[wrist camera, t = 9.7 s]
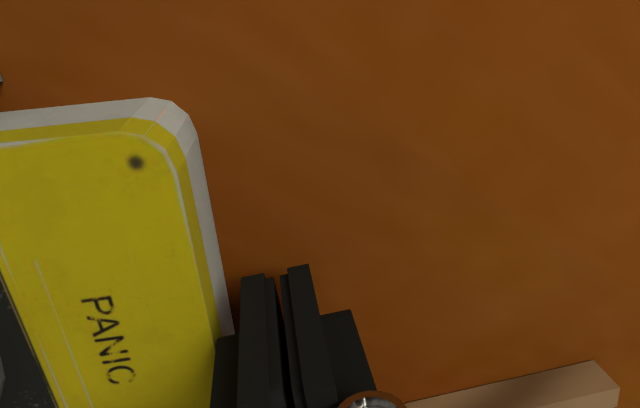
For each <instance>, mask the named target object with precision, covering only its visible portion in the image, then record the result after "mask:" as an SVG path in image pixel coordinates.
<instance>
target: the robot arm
mask: <svg viewBox="0 0 640 408" xmlns="http://www.w3.org/2000/svg"><path fill="white" fill-rule="evenodd" d="M287 272H288V274H285V275H281V276H280V284H281V294H282V303H283V312H284V320H283V316H282V312H281V307H280V303H279V299H278V295H277V290H276V286H275V282H274V278H273V277H271V278H266V279H265V276H264V273H262V274H257V275H252V276H247V277H242V278H241V296H240V326H239V333H237V334H233V335H228V336H224V337H219V338H218V339H217V342H216V349H215V359H214V369H213V379H212V389H211V399H210V408H407V407H406V406H405V404H404V403H403V402H402V401H401V400H400V399H398V398H397V397H395V396H393V395H392V394H389V393H385V392H382V391H377V389H376V386H375V383H374V380H373V377H372V374H371V371H370V368H369V365H368V362H367V359H366V356H365V352H364V349H363V346H362V343H361V340H360V337H359V334H358V331H357V328H356V325H355V322H354V319H353V316H352V313H351V310H350V309H348V310H344V311H339V312H334V313H330V314H325V315H321V316H320V314H319V309H318V305H317V300H316V295H315V291H314V286H313V282H312V277H311V273H310V268H309V264H305V265H300V266H295V267H290V268H287ZM284 322H285V324H284Z"/></svg>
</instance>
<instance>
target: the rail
mask: <svg viewBox="0 0 640 408" xmlns="http://www.w3.org/2000/svg"><path fill="white" fill-rule="evenodd" d="M619 391H620V387H619V386H618V385H617V384H616V383H615V382H614V381H613V380H612V379H611V378H610V377H609V376H608V375H607V374H606V373H605V372H604V371H603V370H602V369H601V367H600V366H599V365H598V364H597V363H596V362H595V361H594V360H592V361H587V362H583V363H579V364H574V365H570V366H566V367H561V368H557V369H553V370H548V371H544V372H540V373H535V374H531V375H527V376H522V377H518V378H514V379H509V380H505V381H501V382H496V383H492V384H488V385H483V386H479V387H475V388H470V389H466V390H462V391H457V392H453V393H449V394H444V395H440V396H436V397H431V398H427V399H423V400H418V401H414V402H410V403H405V406H406V407H407V408H613V407H617V403H618V397H619Z"/></svg>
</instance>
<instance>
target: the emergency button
mask: <svg viewBox="0 0 640 408" xmlns="http://www.w3.org/2000/svg"><path fill="white" fill-rule="evenodd" d="M233 334H235V331H234V325H233V320H232V315H231V309H230V304H229V299H228V293H227V288H226V283H225V278H224V272H223V267H222V262H221V256H220V251H219V246H218V241H217V235H216V230H215V225H214V219H213V214H212V209H211V203H210V198H209V193H208V188H207V182H206V177H205V172H204V166H203V161H202V156H201V150H200V145H199V140H198V135H197V132H196V130H195V128H194V126H193V124H192V121H191V119H190V117H189V115H188V114H187V113H186V112H184V111H183V110H182V109H181V108H179V107H178V106H177V105H176V104H174V103H173V102H172V101H168V100H163V99H157V98H151V97H148V98H138V99H128V100H118V101H108V102H99V103H89V104H79V105H69V106H59V107H49V108H39V109H29V110H19V111H9V112H0V408H210V399H211V389H212V379H213V369H214V359H215V349H216V342H217V339H218V338H219V337H224V336H228V335H233Z"/></svg>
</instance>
